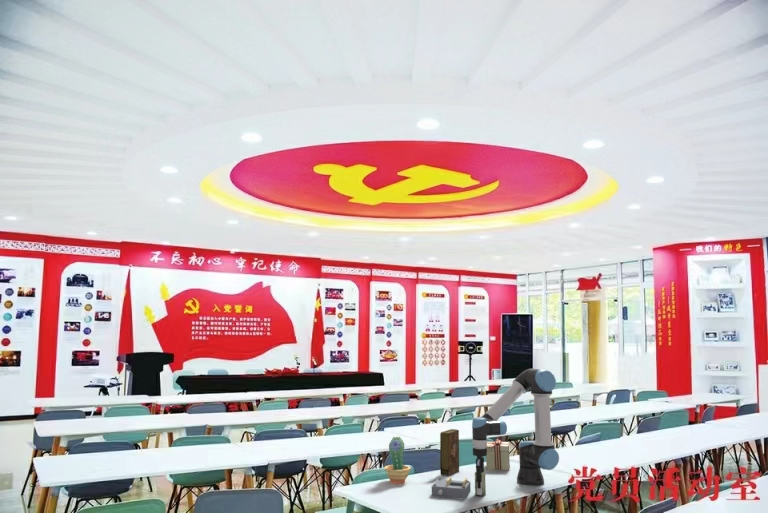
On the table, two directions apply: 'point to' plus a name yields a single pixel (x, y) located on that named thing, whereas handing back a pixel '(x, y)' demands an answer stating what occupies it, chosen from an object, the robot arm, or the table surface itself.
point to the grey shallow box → (451, 488)
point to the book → (449, 452)
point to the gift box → (497, 455)
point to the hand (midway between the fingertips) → (480, 492)
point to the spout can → (482, 485)
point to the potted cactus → (397, 462)
